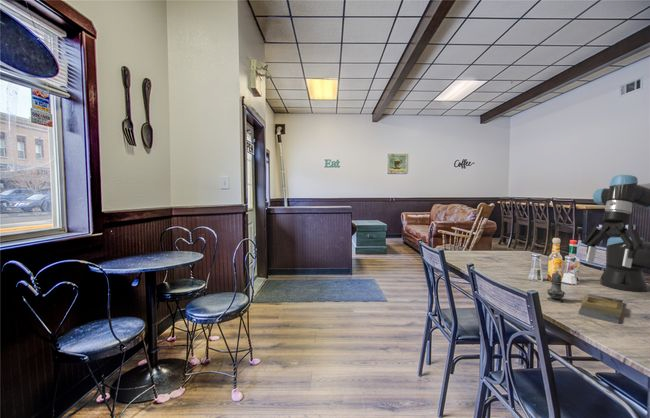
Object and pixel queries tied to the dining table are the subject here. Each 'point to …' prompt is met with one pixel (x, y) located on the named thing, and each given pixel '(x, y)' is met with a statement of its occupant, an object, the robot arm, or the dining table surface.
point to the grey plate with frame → (601, 308)
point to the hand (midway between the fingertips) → (606, 264)
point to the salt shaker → (556, 289)
